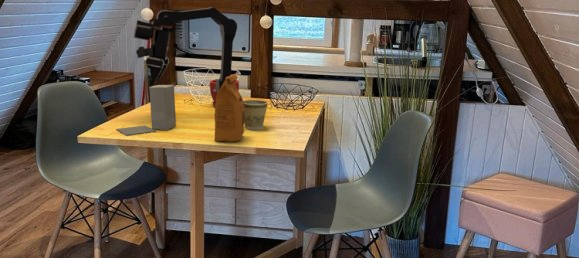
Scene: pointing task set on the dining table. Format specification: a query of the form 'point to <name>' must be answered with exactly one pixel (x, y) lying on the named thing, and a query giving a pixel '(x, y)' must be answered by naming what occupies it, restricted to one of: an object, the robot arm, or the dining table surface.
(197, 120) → the dining table surface
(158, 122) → the skincare box
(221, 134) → the coffee package
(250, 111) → the ceramic cup
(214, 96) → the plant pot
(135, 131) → the mat
